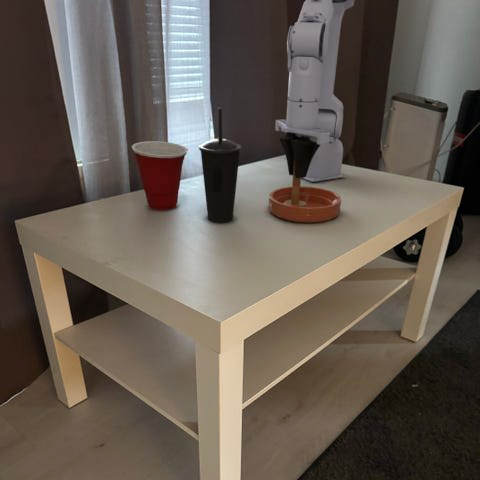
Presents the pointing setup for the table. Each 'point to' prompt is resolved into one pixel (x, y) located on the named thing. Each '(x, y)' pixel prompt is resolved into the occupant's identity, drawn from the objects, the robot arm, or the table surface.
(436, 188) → the table surface
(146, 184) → the plastic cup
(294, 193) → the stirring stick
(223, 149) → the drinking cup
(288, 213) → the bowl
